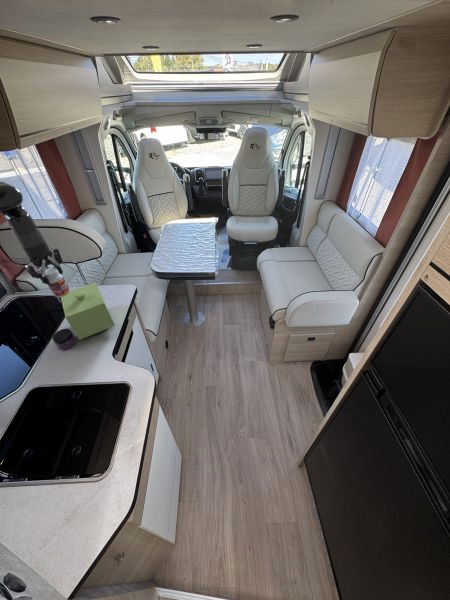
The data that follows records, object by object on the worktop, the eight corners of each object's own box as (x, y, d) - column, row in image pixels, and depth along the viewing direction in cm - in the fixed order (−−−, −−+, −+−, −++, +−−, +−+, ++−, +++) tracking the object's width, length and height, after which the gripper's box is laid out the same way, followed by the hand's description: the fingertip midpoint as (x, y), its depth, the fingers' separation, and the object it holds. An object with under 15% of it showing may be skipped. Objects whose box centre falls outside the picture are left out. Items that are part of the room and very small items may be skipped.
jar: (54, 348, 117) (48, 340, 113) (67, 335, 122) (62, 327, 119) (68, 352, 115) (62, 344, 111) (80, 338, 120) (75, 331, 117)
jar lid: (49, 341, 114) (48, 339, 113) (62, 329, 119) (61, 327, 118) (63, 345, 112) (62, 343, 111) (76, 332, 117) (74, 330, 116)
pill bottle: (69, 296, 106) (56, 274, 98) (52, 299, 105) (39, 276, 97) (71, 287, 110) (60, 265, 103) (56, 290, 109) (43, 268, 102)
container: (74, 319, 131) (56, 289, 117) (107, 307, 137) (93, 277, 124) (81, 343, 118) (62, 312, 105) (116, 328, 125) (102, 298, 112)
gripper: (40, 231, 97) (60, 267, 108) (6, 249, 87) (32, 287, 98) (56, 233, 96) (74, 270, 107) (23, 252, 85) (47, 291, 96)
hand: (54, 278), depth 102 cm, fingers closed on pill bottle, 6 cm apart
